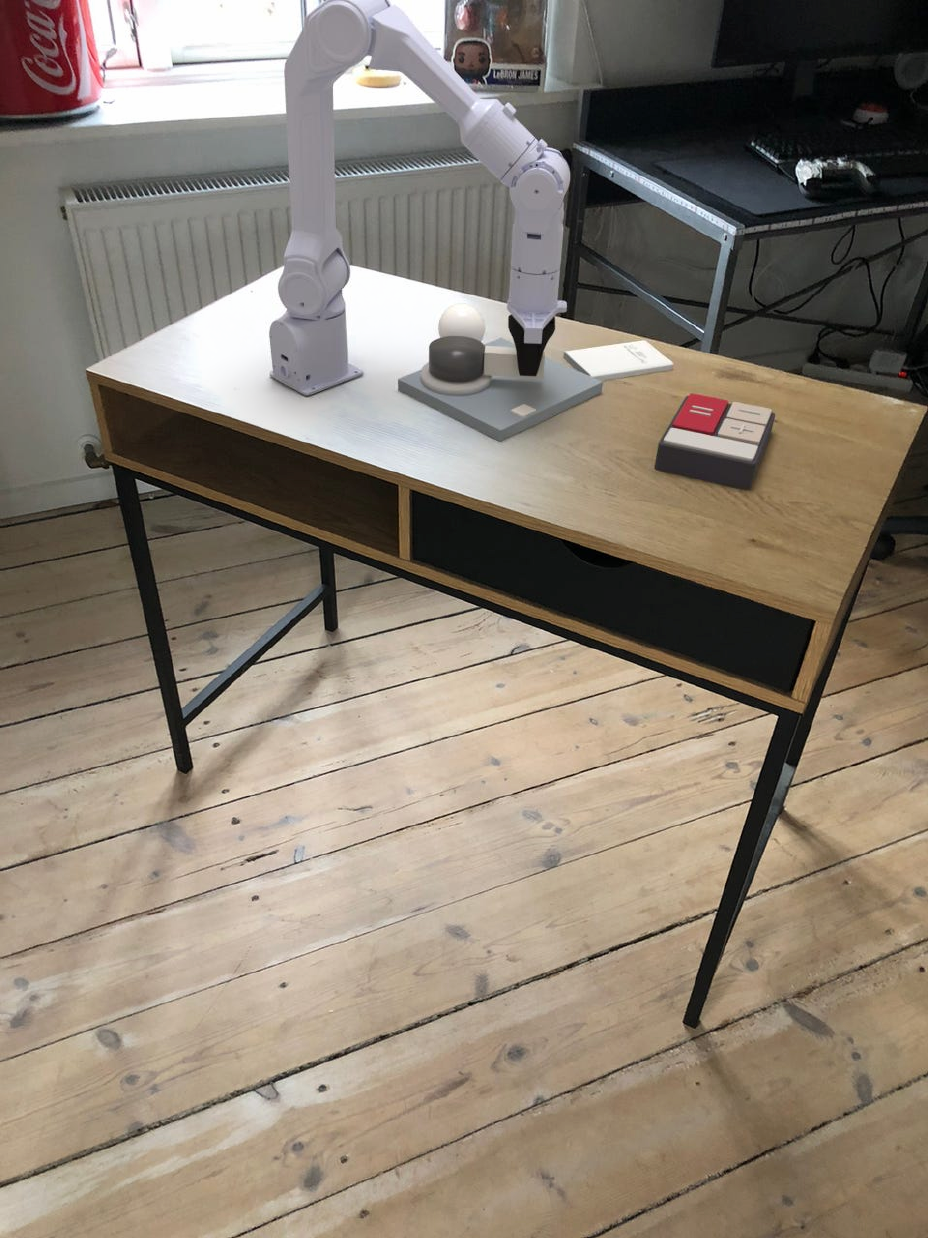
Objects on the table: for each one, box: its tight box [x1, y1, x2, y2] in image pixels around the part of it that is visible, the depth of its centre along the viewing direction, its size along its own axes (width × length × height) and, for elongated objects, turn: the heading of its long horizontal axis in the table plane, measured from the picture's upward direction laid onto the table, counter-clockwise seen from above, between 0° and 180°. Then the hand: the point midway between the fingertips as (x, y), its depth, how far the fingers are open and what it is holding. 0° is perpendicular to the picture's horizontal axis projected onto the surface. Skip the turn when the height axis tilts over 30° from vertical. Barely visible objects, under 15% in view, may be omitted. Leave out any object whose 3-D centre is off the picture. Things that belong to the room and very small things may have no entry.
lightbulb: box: [437, 303, 486, 342], centre depth 141 cm, size 6×6×11 cm
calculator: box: [654, 393, 776, 491], centre depth 120 cm, size 11×4×15 cm
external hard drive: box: [563, 339, 674, 382], centre depth 139 cm, size 2×8×12 cm
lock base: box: [397, 337, 604, 443], centre depth 131 cm, size 19×18×2 cm
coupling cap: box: [428, 336, 546, 382], centre depth 128 cm, size 14×7×3 cm, turn 85°
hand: (527, 374), depth 127 cm, fingers closed
